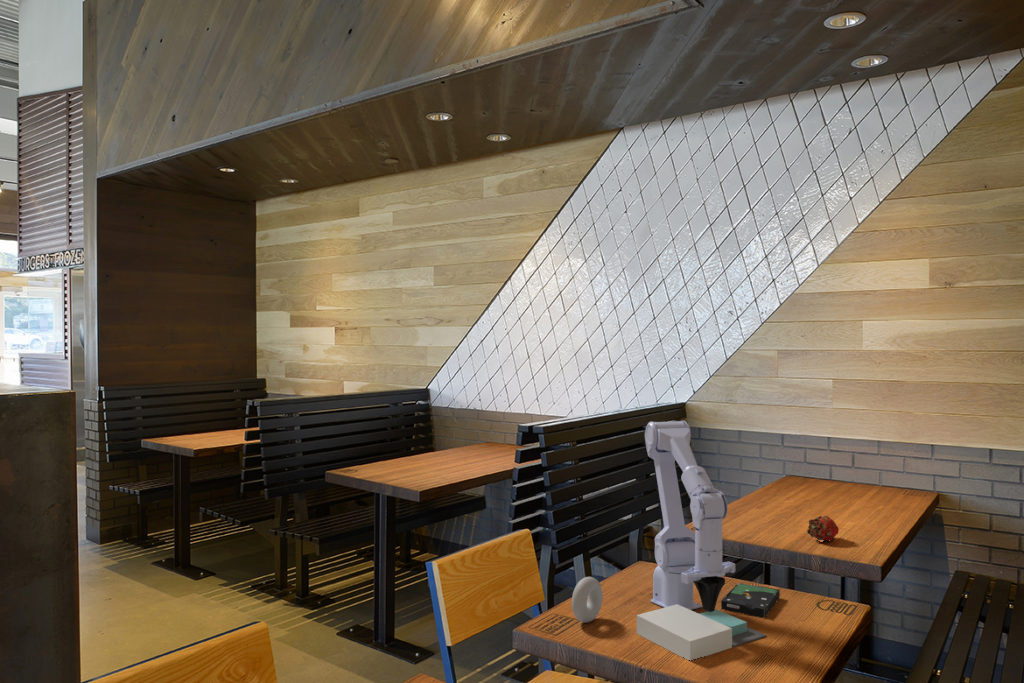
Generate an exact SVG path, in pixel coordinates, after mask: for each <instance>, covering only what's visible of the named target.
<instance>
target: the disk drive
mask: <svg viewBox="0 0 1024 683" xmlns="http://www.w3.org/2000/svg"><path fill="white" fill-rule="evenodd" d="M780 591H781V590H780V589H778V588H772V587H765V586H763V585H761V586H760V585H751V584H747V583H746V584H745V583H743V582H740V583H737V584H735V585H734V587H732V588H731V589H730V591H728V592H727V593H726V595H725V596H723V598H722V599H721V600H720V602H721V605H720V607H721V608H720V609H721V610H722V609H725V610H724V611H727V610H729V611H728V612H732V611H734V612H733V613H737V612H740V613H739V614H742V613H744V615H747V614H748V615H747V616H752V615H753V616H752V617H757V616H759V618H762V617H765V618H766V617H767V616H768V615H769V613H770V612H771V610H772V609H773V608H774V607H773V606H775V605H776V604H777V603H776V601H777V600H778V599H779V597H780V598H781V596H780V595H781V594H780ZM779 600H780V599H779ZM779 600H778V601H779ZM775 603H776V604H775ZM774 604H775V605H774ZM772 607H773V608H772ZM771 608H772V609H771ZM769 611H770V612H769ZM768 612H769V613H768ZM767 614H768V615H767ZM766 615H767V616H766Z"/></svg>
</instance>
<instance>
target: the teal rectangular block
mask: <svg viewBox="0 0 1024 683" xmlns="http://www.w3.org/2000/svg"><path fill="white" fill-rule="evenodd" d="M699 614H700V615H703V616H705V617H707V618H710V619H712V620H714V621H716V622H719V623H721V624H723V625H725V626H728V627H730V628H732V636H734V635H737V634H740V633H743V632H747V627H748V622H747V621H745V620H743V619H740V618H738V617H736V616H733V615H731V614H729V613H726V612H723V611H721V610H720V609H719V610H718V609H716V608H715V610H714V611H712V612H708V611H703V612H700V613H699Z"/></svg>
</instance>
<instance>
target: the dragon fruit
mask: <svg viewBox="0 0 1024 683" xmlns="http://www.w3.org/2000/svg"><path fill="white" fill-rule="evenodd" d="M808 524H809V525H808V526H807V527H808V529H807V530H806V533H807V534H808V535H810V536H811V537H812V538H814V537H815V538H817V539H818V540H825V541H826V540H830V541H831V542H834V541H835V538H836V536H837V535H838V534H839V527H838V525H837V523H836V522H835V520H833V519H831V517H830V516H828V515H823V516H821V515H820V516H817V517H815V518H814V519H809V520H808ZM815 538H814V539H815Z"/></svg>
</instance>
